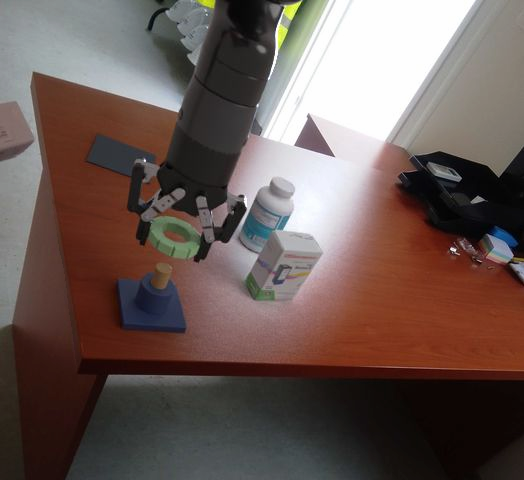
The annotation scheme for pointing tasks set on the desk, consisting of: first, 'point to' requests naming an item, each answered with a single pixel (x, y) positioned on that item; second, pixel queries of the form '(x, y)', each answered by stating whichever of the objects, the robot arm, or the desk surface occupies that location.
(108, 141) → the mat
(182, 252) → the ring
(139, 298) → the stand
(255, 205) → the pill bottle
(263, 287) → the ink box
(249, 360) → the desk surface
